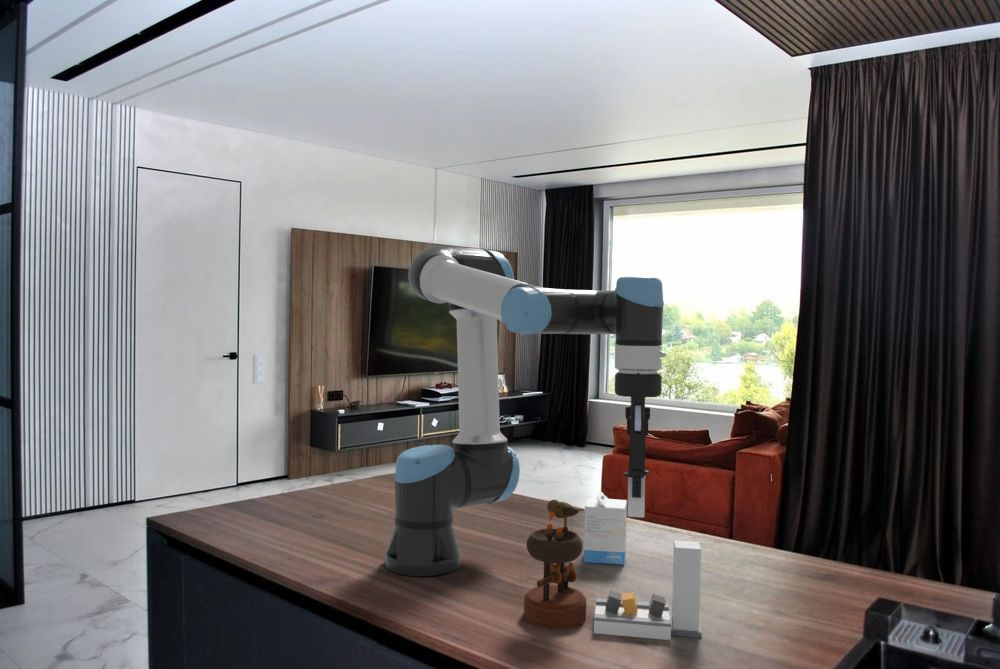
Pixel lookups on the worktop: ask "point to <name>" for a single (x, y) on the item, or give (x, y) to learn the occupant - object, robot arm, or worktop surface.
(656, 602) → the paddle
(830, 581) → the worktop surface
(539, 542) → the music box
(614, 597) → the paddle
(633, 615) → the breaker board
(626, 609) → the paddle
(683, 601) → the post
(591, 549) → the ink box
